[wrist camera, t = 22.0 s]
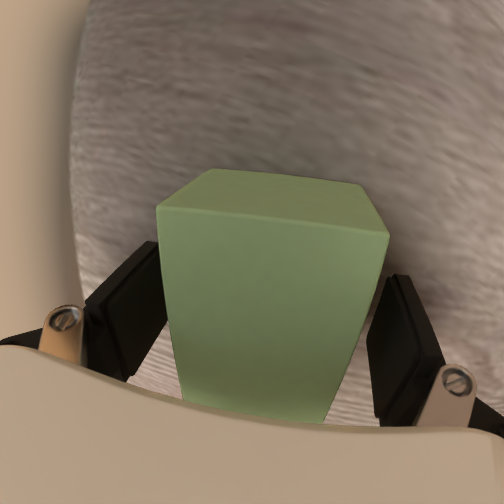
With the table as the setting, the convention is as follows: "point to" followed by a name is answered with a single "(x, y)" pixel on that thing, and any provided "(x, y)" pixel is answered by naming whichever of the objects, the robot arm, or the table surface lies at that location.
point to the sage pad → (267, 288)
